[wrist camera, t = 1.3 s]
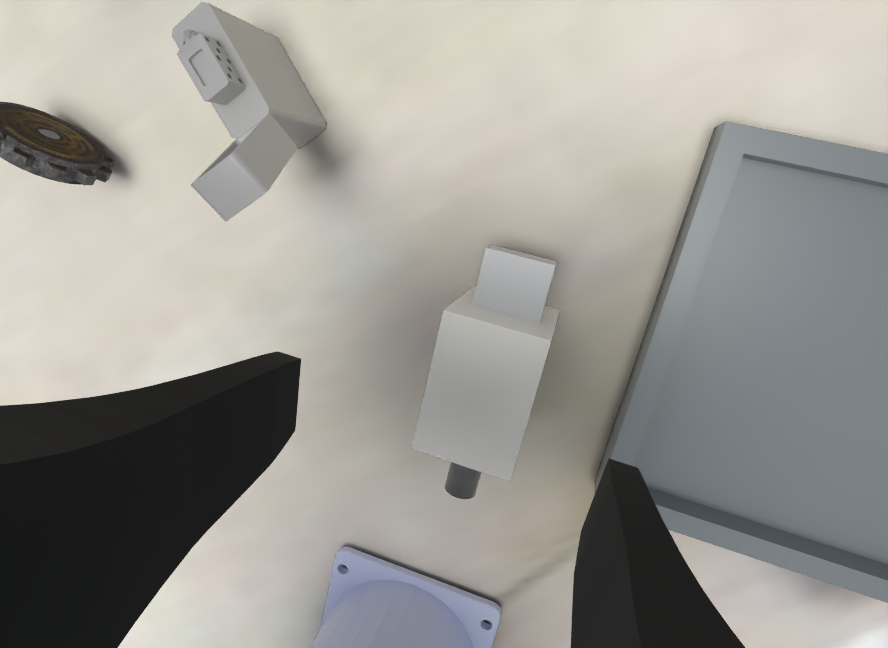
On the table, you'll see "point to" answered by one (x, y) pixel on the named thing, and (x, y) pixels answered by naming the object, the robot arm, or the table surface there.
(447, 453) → the plug
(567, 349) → the table surface
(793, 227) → the tray
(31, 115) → the gear
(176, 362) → the table surface
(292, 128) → the lighter
